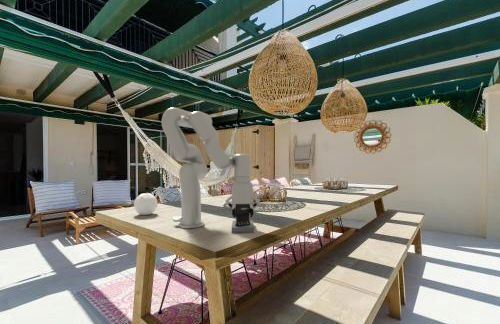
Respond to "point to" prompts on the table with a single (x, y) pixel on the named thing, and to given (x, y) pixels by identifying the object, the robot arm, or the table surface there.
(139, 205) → the geodesic sphere
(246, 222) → the battery
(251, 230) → the dock
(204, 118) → the robot arm
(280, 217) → the table surface
